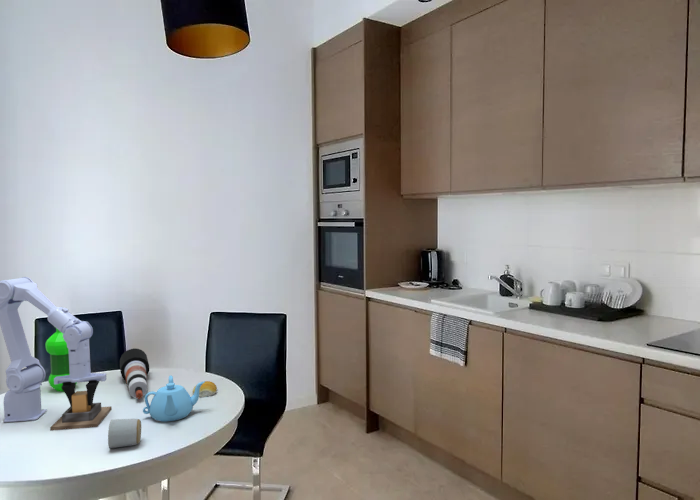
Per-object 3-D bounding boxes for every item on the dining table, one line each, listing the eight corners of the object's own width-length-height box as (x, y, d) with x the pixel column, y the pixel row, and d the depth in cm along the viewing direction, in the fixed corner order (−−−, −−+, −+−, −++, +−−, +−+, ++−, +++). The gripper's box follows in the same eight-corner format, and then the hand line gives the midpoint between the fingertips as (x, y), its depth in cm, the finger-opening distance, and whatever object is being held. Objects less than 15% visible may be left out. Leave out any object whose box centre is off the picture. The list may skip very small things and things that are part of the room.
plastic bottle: (50, 386, 187) (46, 320, 185) (81, 382, 191) (78, 318, 189) (45, 395, 178) (41, 326, 176) (79, 391, 182) (75, 323, 180)
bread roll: (217, 388, 183) (216, 377, 183) (216, 396, 175) (215, 385, 174) (193, 390, 182) (193, 379, 181) (191, 398, 173) (191, 387, 173)
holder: (50, 430, 148) (49, 418, 148) (68, 412, 162) (68, 401, 161) (97, 426, 150) (96, 415, 150) (111, 409, 164) (111, 398, 163)
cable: (133, 416, 169) (117, 393, 166) (128, 377, 199) (114, 357, 196) (161, 398, 173) (145, 376, 169) (152, 363, 203) (139, 343, 199)
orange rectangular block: (72, 418, 153) (71, 395, 153) (77, 413, 157) (76, 391, 157) (86, 417, 154) (85, 395, 153) (91, 412, 158) (90, 390, 157)
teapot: (136, 419, 155) (134, 387, 154) (173, 403, 168) (172, 373, 168) (170, 428, 148) (168, 394, 148) (206, 410, 162) (205, 379, 161)
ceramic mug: (140, 448, 135) (139, 421, 135) (107, 453, 133) (106, 425, 133) (143, 433, 145) (142, 408, 145) (113, 437, 143) (112, 412, 142)
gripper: (48, 367, 149) (51, 411, 150) (100, 364, 152) (102, 407, 153) (58, 360, 156) (60, 403, 157) (107, 357, 159) (109, 399, 160)
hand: (81, 404), depth 155 cm, fingers open, 4 cm apart
